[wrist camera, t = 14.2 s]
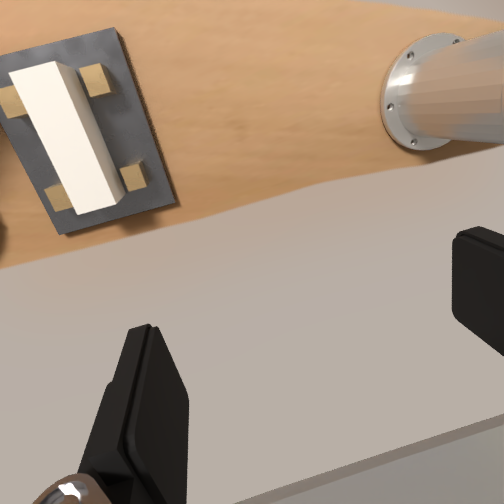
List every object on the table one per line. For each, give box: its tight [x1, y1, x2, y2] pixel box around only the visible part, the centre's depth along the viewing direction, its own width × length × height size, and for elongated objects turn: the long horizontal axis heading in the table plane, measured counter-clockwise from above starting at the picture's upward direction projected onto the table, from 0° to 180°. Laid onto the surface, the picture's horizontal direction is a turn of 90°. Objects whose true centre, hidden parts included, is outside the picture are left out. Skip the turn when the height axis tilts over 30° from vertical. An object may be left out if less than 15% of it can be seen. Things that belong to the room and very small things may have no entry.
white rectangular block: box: [9, 61, 126, 215], centre depth 33 cm, size 4×13×5 cm, turn 14°
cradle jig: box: [0, 27, 176, 235], centre depth 35 cm, size 14×18×4 cm
